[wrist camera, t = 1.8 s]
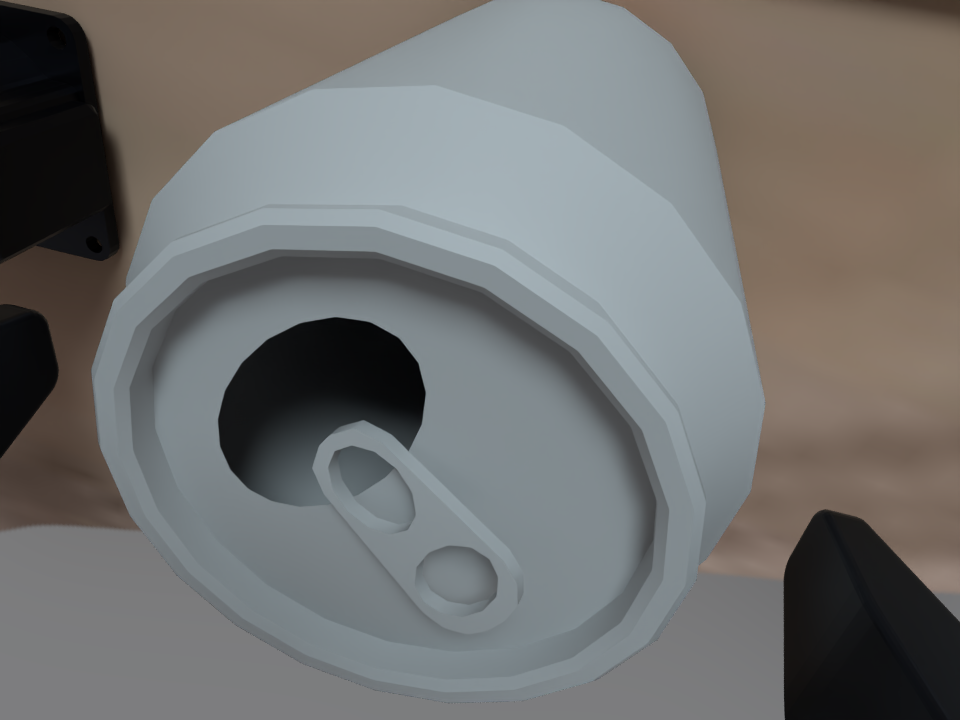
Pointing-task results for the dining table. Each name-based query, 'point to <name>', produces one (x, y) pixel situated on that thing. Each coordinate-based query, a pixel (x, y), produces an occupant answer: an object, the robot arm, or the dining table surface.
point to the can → (445, 359)
